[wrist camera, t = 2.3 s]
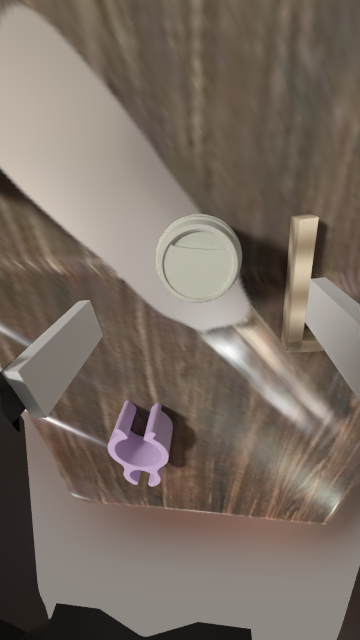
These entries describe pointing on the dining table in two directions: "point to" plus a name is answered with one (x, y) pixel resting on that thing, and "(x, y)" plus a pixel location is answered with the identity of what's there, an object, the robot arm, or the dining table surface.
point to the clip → (141, 444)
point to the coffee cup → (198, 258)
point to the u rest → (299, 285)
